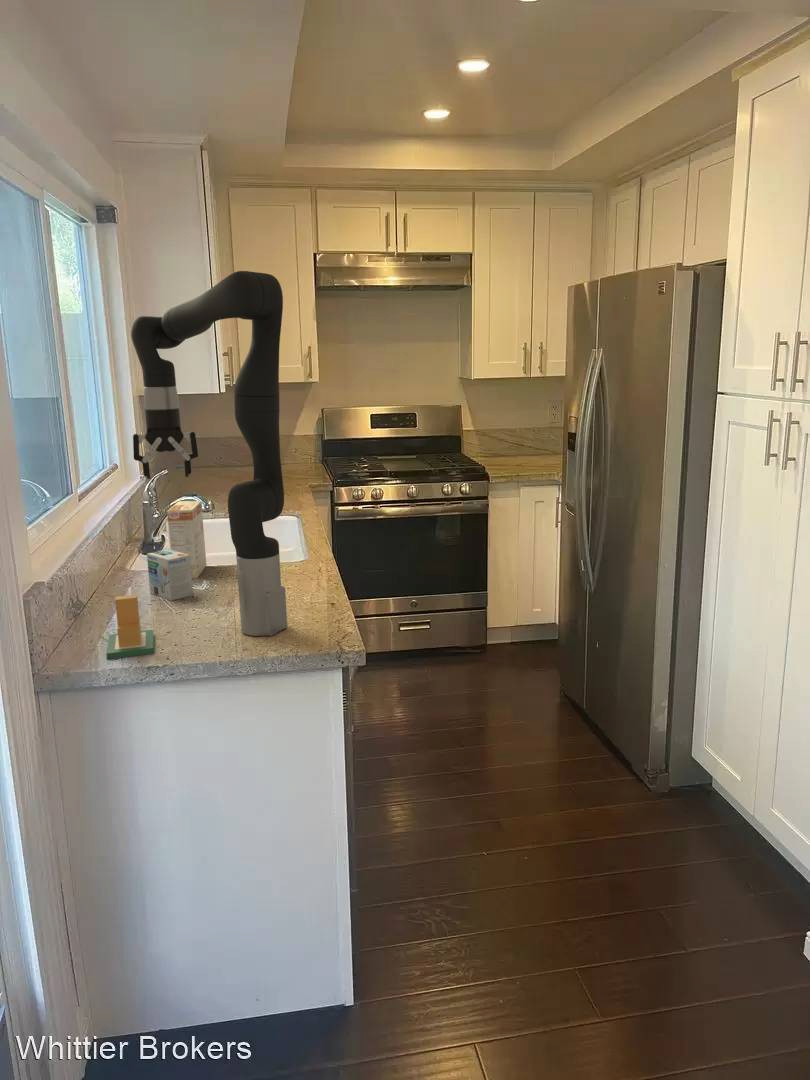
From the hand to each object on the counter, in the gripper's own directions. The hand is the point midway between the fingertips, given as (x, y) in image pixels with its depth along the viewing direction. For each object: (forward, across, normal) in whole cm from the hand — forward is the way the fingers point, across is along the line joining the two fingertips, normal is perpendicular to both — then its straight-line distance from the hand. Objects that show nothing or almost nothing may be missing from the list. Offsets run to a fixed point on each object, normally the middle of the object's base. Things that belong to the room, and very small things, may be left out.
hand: (168, 477), depth 180 cm
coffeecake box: (+32, +4, +35) cm, 48 cm away
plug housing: (+31, -11, -22) cm, 39 cm away
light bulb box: (+32, -1, +14) cm, 35 cm away
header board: (+32, -11, -23) cm, 41 cm away
